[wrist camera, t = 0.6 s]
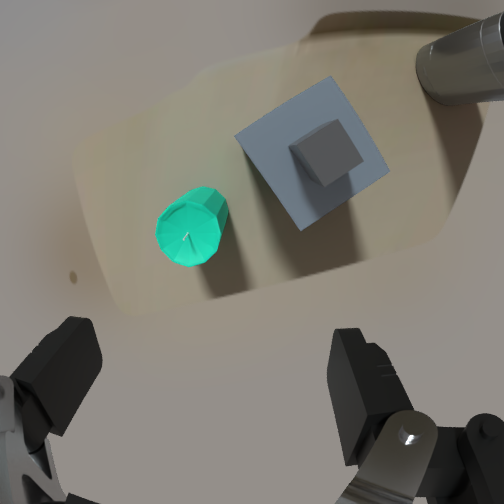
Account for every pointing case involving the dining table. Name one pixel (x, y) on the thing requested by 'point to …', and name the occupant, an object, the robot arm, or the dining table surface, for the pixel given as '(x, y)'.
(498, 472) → the robot arm
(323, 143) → the cover
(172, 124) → the dining table surface
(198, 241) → the candle
